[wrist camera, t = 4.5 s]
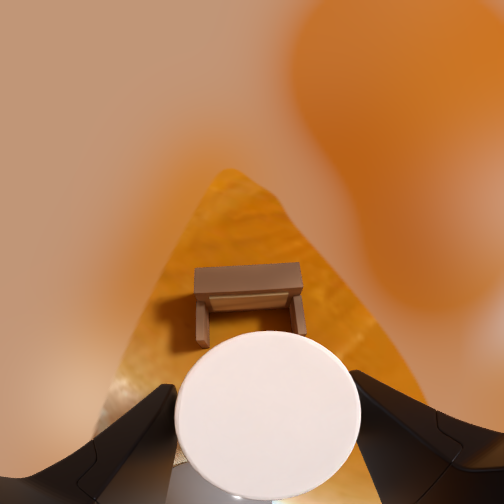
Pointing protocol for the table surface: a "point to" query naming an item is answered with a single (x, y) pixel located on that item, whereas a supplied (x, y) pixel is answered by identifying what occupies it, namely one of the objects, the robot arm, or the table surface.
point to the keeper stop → (248, 293)
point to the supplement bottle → (267, 415)
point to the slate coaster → (199, 489)
